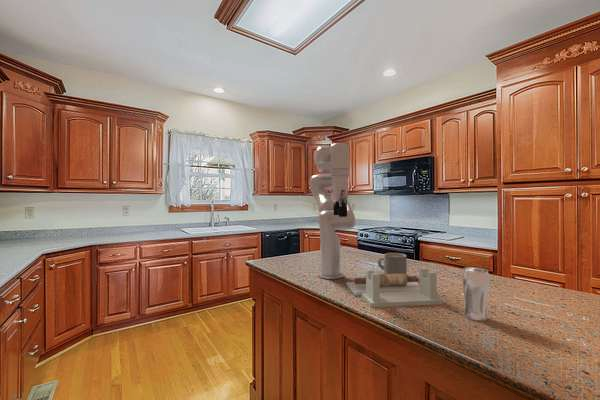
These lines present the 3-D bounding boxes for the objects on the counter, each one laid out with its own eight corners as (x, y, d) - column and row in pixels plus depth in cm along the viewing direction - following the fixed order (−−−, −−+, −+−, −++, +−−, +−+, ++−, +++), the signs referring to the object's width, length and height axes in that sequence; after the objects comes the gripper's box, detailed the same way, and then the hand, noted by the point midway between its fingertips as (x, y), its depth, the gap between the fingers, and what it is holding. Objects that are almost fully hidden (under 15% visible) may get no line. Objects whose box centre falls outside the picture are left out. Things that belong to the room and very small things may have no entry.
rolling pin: (355, 289, 112) (357, 281, 109) (352, 281, 116) (354, 272, 114) (417, 287, 114) (420, 278, 112) (412, 279, 118) (414, 270, 116)
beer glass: (493, 323, 83) (493, 273, 83) (467, 321, 84) (467, 272, 84) (482, 313, 90) (483, 267, 89) (459, 311, 91) (459, 266, 91)
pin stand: (361, 296, 105) (361, 268, 105) (426, 294, 107) (426, 266, 107) (370, 307, 95) (370, 276, 95) (442, 304, 97) (442, 273, 97)
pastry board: (346, 284, 119) (346, 282, 119) (412, 282, 122) (412, 279, 122) (355, 295, 106) (355, 292, 106) (429, 292, 109) (429, 289, 109)
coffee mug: (410, 275, 132) (410, 254, 132) (400, 280, 126) (399, 258, 126) (385, 270, 142) (385, 250, 142) (374, 274, 136) (374, 253, 136)
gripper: (326, 175, 121) (326, 214, 121) (335, 172, 104) (335, 217, 104) (343, 175, 122) (343, 214, 122) (355, 172, 104) (355, 217, 105)
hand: (340, 215), depth 113 cm, fingers open, 9 cm apart
